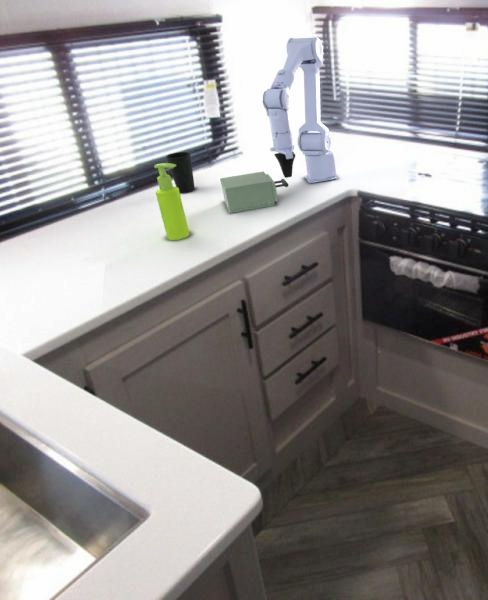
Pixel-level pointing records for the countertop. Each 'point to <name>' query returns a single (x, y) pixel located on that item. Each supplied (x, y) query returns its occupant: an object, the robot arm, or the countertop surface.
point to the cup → (182, 171)
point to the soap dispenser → (171, 205)
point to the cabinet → (247, 192)
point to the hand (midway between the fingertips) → (288, 176)
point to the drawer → (277, 186)
